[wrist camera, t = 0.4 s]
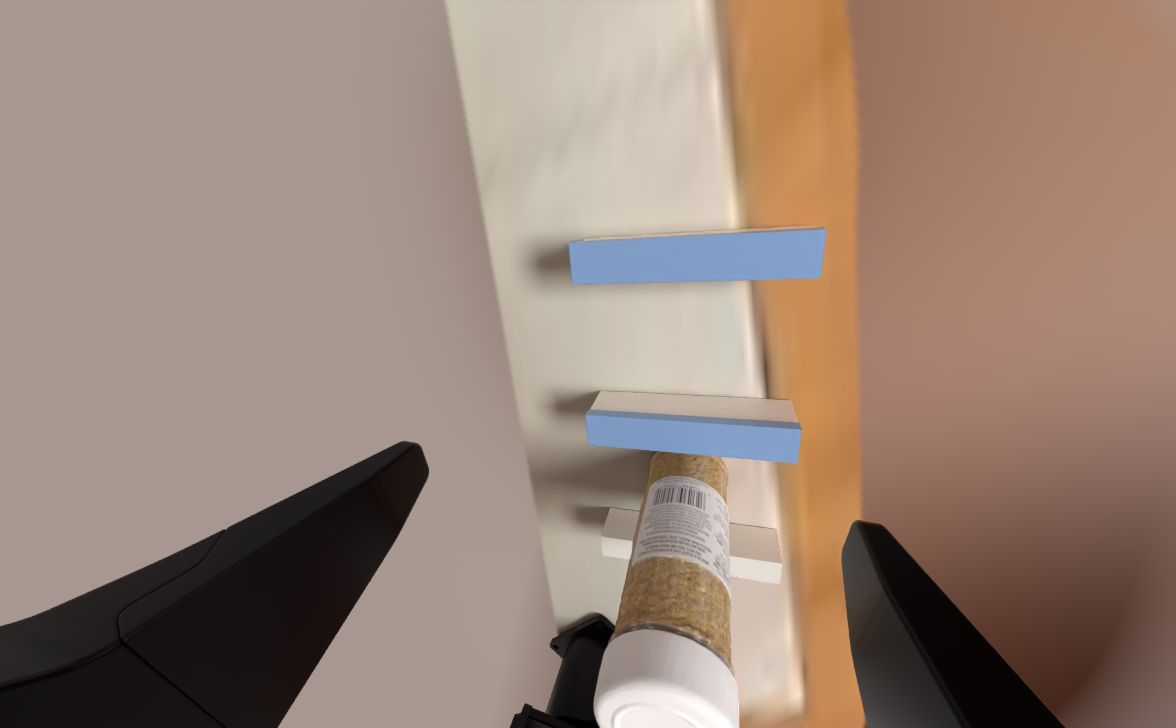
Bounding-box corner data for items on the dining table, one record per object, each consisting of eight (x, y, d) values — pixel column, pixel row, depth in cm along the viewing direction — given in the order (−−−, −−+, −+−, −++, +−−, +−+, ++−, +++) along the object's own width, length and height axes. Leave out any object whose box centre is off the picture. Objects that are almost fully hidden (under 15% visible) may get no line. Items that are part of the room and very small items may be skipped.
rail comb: (774, 548, 25) (781, 593, 22) (611, 525, 28) (599, 563, 25) (810, 221, 18) (826, 229, 15) (588, 234, 21) (568, 243, 18)
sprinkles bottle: (643, 488, 26) (580, 745, 14) (659, 428, 24) (601, 667, 12) (717, 511, 25) (716, 804, 13) (740, 450, 23) (761, 731, 12)
